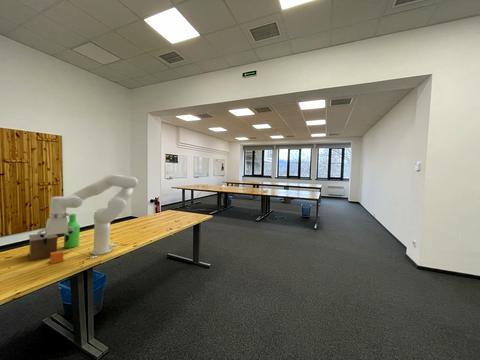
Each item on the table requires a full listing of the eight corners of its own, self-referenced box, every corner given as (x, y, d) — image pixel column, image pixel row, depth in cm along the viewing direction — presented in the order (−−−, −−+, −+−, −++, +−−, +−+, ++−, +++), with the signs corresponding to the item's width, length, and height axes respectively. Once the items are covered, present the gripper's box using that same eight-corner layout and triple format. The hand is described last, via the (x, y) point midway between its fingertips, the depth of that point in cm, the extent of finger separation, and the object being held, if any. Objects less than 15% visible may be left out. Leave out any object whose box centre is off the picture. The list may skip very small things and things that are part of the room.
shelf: (54, 249, 142) (54, 231, 142) (57, 256, 131) (57, 236, 131) (28, 254, 132) (29, 235, 132) (29, 261, 122) (30, 240, 122)
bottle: (66, 245, 151) (67, 213, 151) (80, 244, 155) (81, 212, 155) (62, 249, 143) (63, 215, 143) (77, 247, 147) (78, 214, 147)
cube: (61, 258, 128) (61, 250, 128) (62, 261, 124) (63, 252, 124) (50, 261, 124) (50, 252, 124) (51, 263, 120) (51, 255, 120)
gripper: (74, 213, 133) (72, 239, 132) (37, 216, 119) (36, 244, 119) (76, 215, 128) (74, 241, 127) (38, 218, 115) (36, 247, 114)
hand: (56, 242), depth 123 cm, fingers open, 9 cm apart
